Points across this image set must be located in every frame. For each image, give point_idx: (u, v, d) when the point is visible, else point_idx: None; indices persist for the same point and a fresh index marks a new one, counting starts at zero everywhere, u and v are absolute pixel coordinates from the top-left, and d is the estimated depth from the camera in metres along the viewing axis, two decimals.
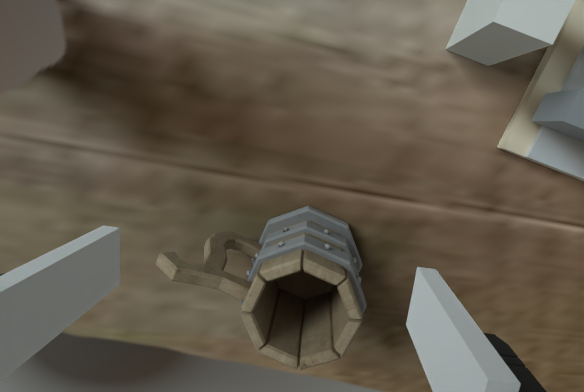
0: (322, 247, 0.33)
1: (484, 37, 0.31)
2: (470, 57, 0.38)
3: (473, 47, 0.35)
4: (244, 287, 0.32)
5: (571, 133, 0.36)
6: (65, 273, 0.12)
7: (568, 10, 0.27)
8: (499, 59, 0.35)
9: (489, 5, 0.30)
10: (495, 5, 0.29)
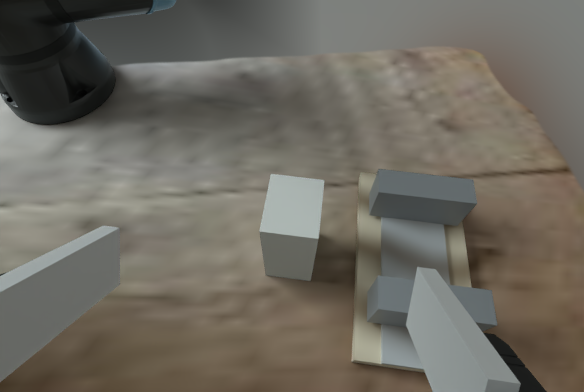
0: None
1: (273, 250, 0.33)
2: (289, 276, 0.39)
3: (278, 263, 0.36)
4: None
5: None
6: (65, 273, 0.12)
7: (319, 212, 0.31)
8: (308, 270, 0.36)
9: None
10: None
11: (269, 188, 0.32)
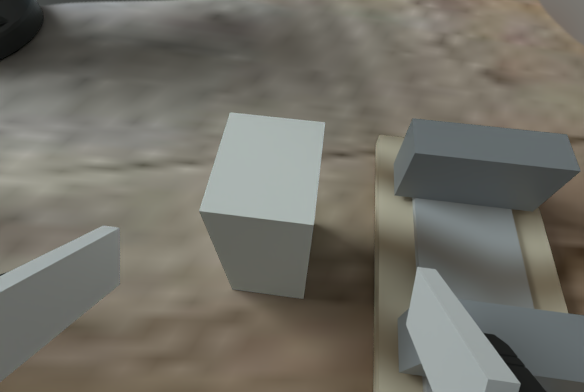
0: None
1: (235, 249, 0.19)
2: (269, 291, 0.24)
3: (248, 272, 0.21)
4: None
5: None
6: (65, 272, 0.12)
7: (316, 176, 0.17)
8: (298, 282, 0.22)
9: None
10: None
11: (225, 135, 0.18)
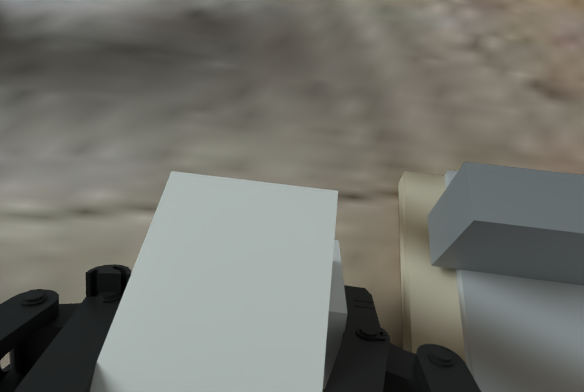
0: None
1: None
2: None
3: None
4: None
5: None
6: None
7: (324, 308, 0.09)
8: None
9: None
10: None
11: (157, 218, 0.10)
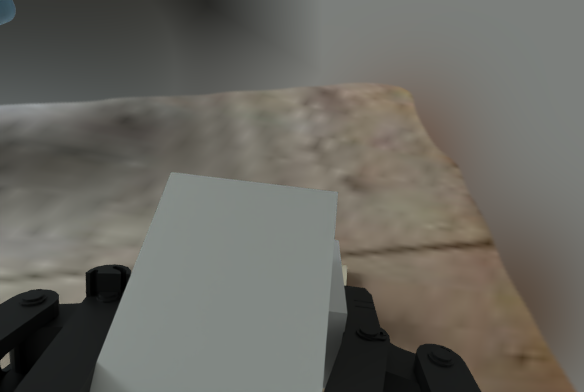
0: None
1: None
2: None
3: None
4: None
5: None
6: None
7: (324, 309, 0.09)
8: None
9: None
10: None
11: (157, 220, 0.10)
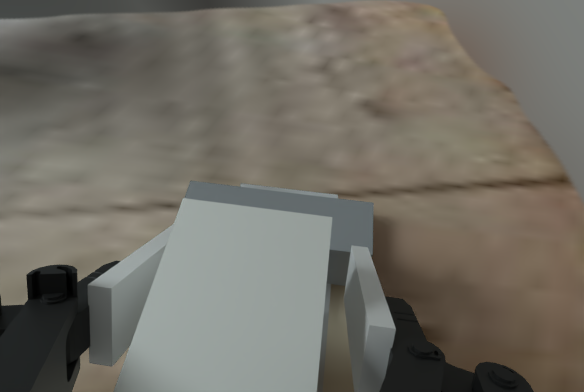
0: None
1: None
2: None
3: None
4: None
5: None
6: (158, 264, 0.14)
7: (318, 324, 0.10)
8: None
9: None
10: None
11: (171, 242, 0.11)
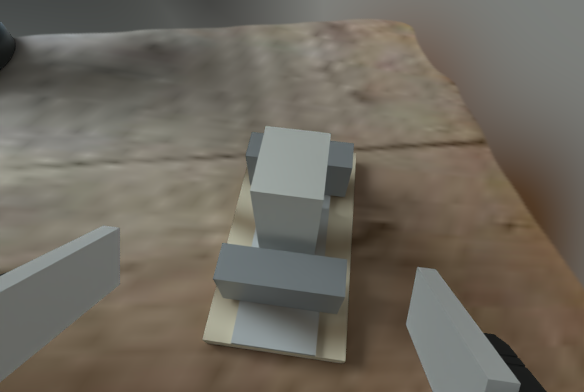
0: None
1: (268, 219, 0.27)
2: None
3: (275, 238, 0.30)
4: None
5: (261, 298, 0.30)
6: (65, 273, 0.12)
7: (325, 169, 0.25)
8: (310, 246, 0.30)
9: None
10: None
11: (263, 142, 0.26)
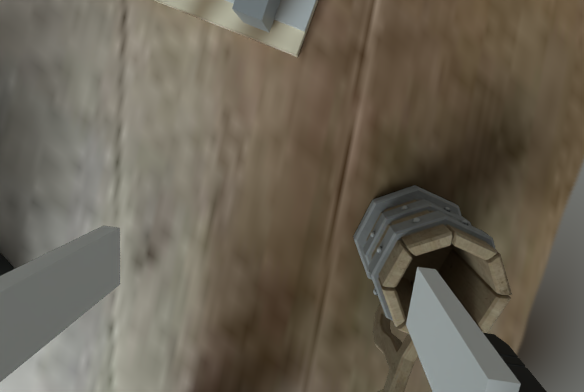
0: (379, 255, 0.34)
1: None
2: None
3: None
4: None
5: None
6: (65, 273, 0.12)
7: None
8: None
9: None
10: None
11: None
